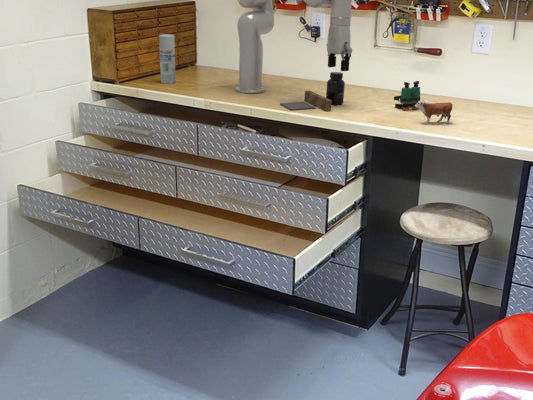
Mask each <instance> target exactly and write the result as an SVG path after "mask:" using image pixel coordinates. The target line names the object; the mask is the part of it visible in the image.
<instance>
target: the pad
mask: <svg viewBox="0 0 533 400" xmlns="http://www.w3.org/2000/svg"><path fill="white" fill-rule="evenodd" d="M279 106H281V107H284V108H286V109H287V110H289V111H303V110H304V111H305V110H315V109H316V106H314V105H312V104H310V103H308V102H305V101H291V102H280V103H279Z"/></svg>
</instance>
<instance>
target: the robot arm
mask: <svg viewBox="0 0 533 400" xmlns="http://www.w3.org/2000/svg"><path fill="white" fill-rule="evenodd" d="M237 1H238V3H239V5H240V6H241V7H242V8H244V9H252V11H247V12H244V13H243V14H241V15H240V16H239V18H238V19H237V20H238V21H237V24H236V25H237V33H238V41H239V44H238V45H239V50H238V51H239V61H238V62H239V63H238V65H239V66H238V67H239V68H238V70H239V73H238V76H239V77H238V85H237V86H235V88H234V89H235V91H236V92H238V93H241V94H260V93H264V92H266V89H267V88H266V87H265V86H263V64H264V63H263V62H264V61H263V60H264V52H263V51H264V47H263V46H264V45H263V40H262V39H261V38H262V37H261V36H263V35H266V34H269V33H270V32H271V31H272V30H273V28H274V27H275V14H274V13H275V12H274V7H273V6H274V5H273V0H237ZM303 2H304V3H305V4H306V5H308V6H309V7H311V8H314V9H317V8H326V7H328V8H329V7H330V16H329V18H330V19H329V27H328V31H327V42H326V51H327V68H335V67H336V66H337V56H336V55H340V57H341V60H340V72H349V71H350V60H351V57H352V53H353V48H352V47H351V21H352V20H351V18H352V0H303Z"/></svg>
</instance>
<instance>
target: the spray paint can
mask: <svg viewBox="0 0 533 400" xmlns="http://www.w3.org/2000/svg"><path fill="white" fill-rule="evenodd" d="M175 40H176V39H175V34H169V33H168V34H167V33H166V34H165V33H164V34H158V42H159V43H158V44H159V47H158V48H159V65H160V67H159V69H160V72H159V73H160V83H161V84H162V85H172V84H175V83H176V51H175V49H176V48H175V43H176V41H175Z"/></svg>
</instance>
